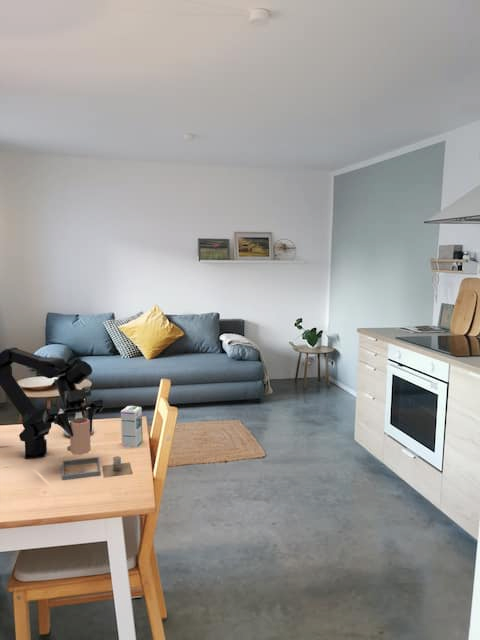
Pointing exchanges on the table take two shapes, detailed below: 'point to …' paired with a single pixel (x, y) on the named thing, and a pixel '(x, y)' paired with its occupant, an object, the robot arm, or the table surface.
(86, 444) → the ring tube
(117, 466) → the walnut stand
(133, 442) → the syrup box
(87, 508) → the table surface
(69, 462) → the charcoal tray
